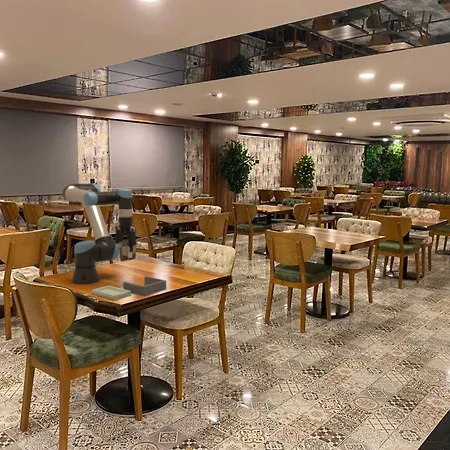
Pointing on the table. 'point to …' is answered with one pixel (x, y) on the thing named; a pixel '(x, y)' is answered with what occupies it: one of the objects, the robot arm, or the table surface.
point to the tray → (111, 292)
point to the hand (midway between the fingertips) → (125, 256)
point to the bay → (151, 286)
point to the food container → (126, 251)
